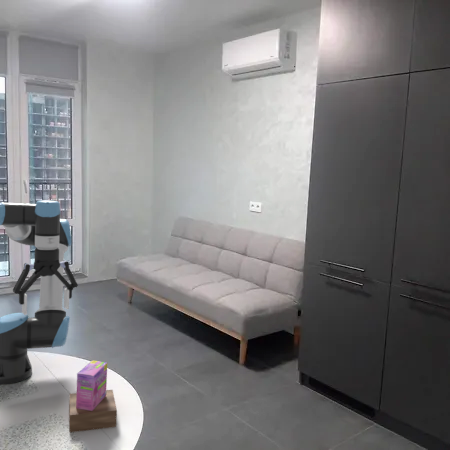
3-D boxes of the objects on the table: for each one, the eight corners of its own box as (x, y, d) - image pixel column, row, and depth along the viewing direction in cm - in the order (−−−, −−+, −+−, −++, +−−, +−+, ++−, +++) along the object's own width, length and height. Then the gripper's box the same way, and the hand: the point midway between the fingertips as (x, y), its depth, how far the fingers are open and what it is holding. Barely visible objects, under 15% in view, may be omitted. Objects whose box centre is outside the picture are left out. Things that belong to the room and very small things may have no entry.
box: (92, 411, 142) (93, 375, 141) (75, 409, 143) (76, 373, 142) (106, 396, 152) (107, 362, 151) (90, 393, 153) (91, 360, 152)
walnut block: (69, 410, 153) (69, 393, 152) (111, 406, 157) (112, 389, 157) (69, 433, 140) (69, 415, 139) (116, 428, 144) (116, 410, 144)
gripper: (9, 252, 139) (8, 319, 141) (88, 247, 154) (86, 308, 157) (3, 247, 144) (2, 312, 147) (80, 244, 160) (78, 302, 162)
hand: (45, 310), depth 152 cm, fingers open, 13 cm apart
